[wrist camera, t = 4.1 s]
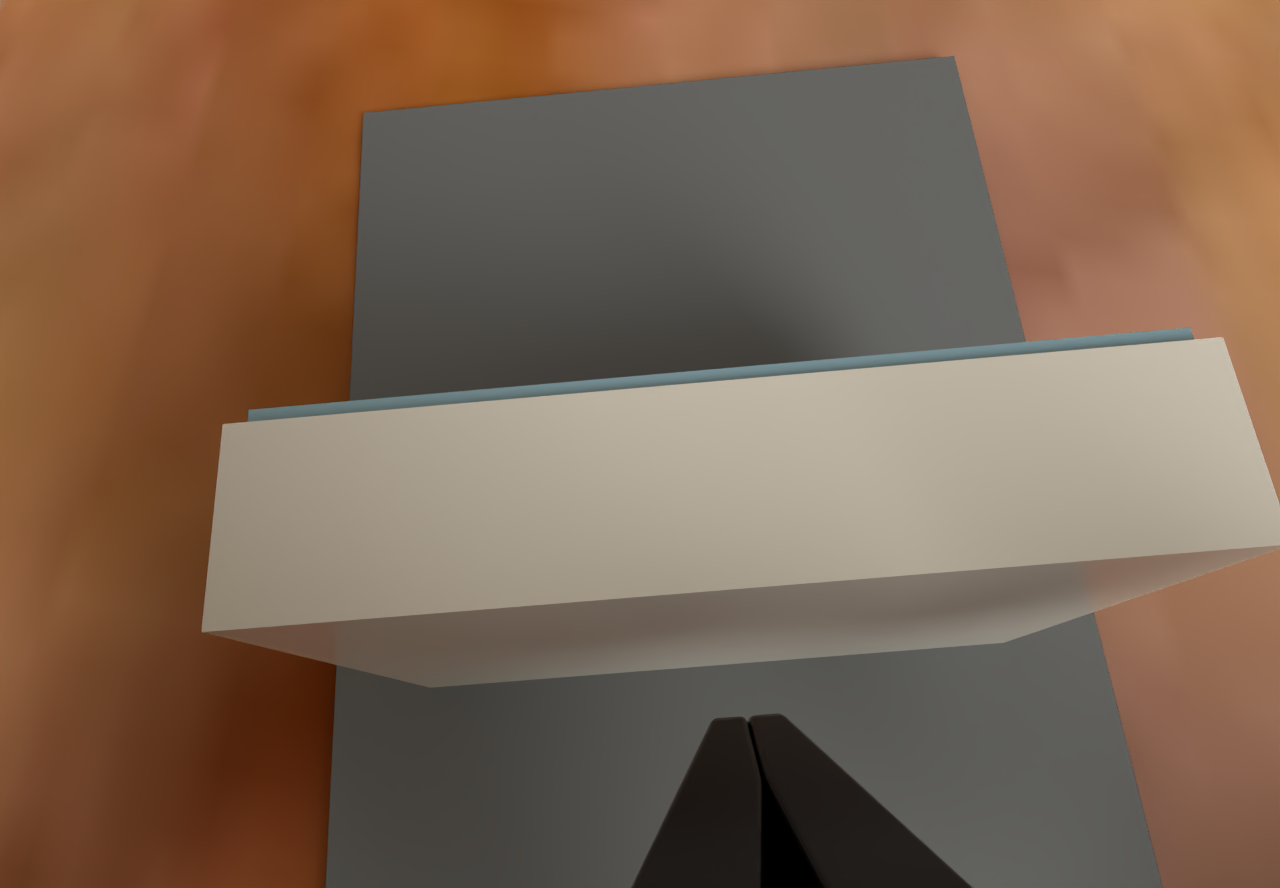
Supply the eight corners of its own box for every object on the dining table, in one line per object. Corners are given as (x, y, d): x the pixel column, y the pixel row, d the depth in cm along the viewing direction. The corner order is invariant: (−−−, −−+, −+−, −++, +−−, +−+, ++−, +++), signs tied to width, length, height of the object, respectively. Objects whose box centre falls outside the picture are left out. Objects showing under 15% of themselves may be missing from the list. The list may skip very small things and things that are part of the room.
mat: (1152, 886, 16) (1163, 890, 16) (330, 945, 17) (322, 948, 16) (949, 67, 23) (953, 55, 23) (368, 122, 24) (363, 112, 23)
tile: (1003, 642, 18) (1292, 544, 9) (430, 687, 18) (200, 632, 10) (976, 514, 19) (1216, 318, 10) (432, 559, 19) (224, 404, 10)
